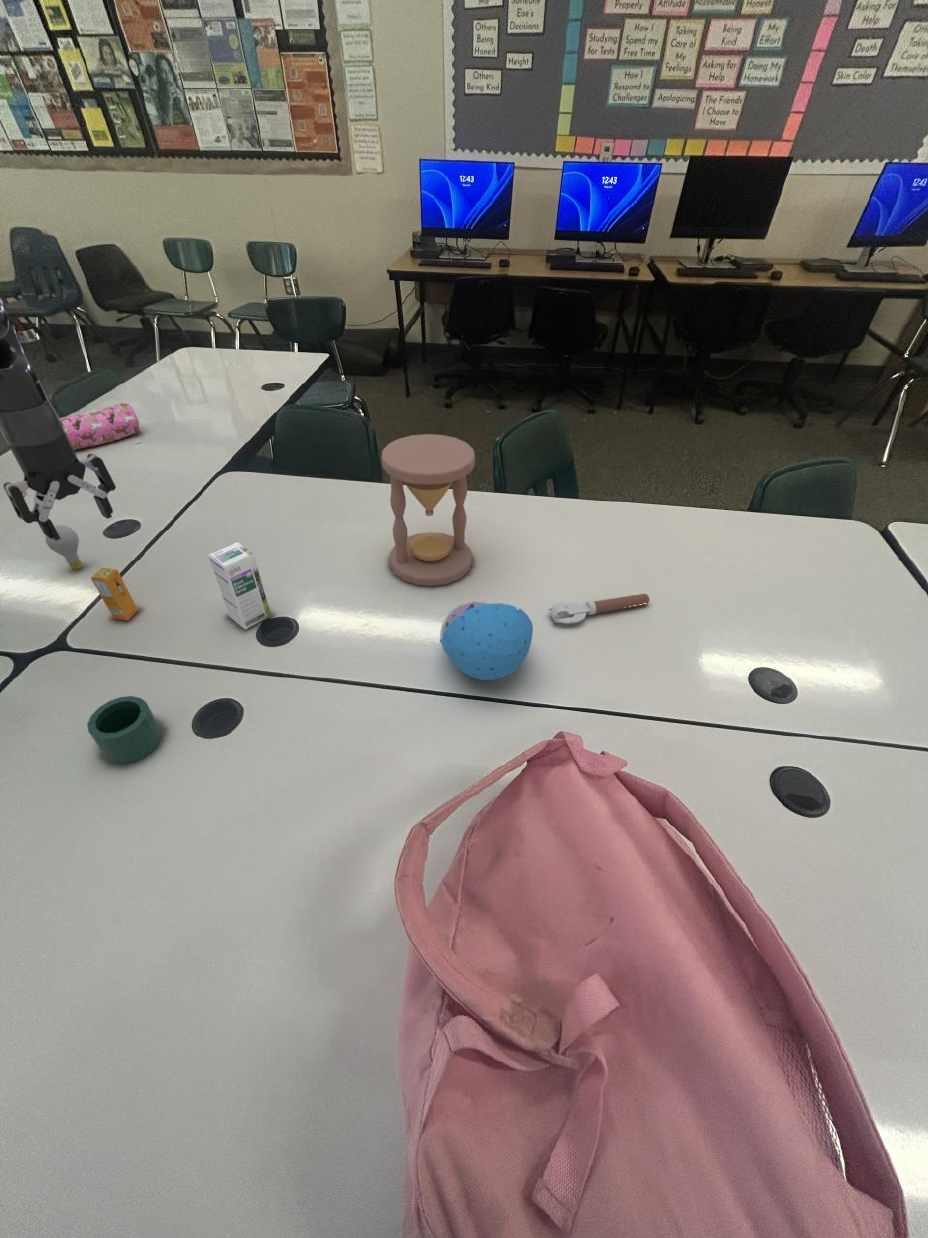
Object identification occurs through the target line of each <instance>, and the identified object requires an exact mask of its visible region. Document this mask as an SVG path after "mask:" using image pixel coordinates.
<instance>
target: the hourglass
mask: <svg viewBox="0 0 928 1238" xmlns="http://www.w3.org/2000/svg"><path fill="white" fill-rule="evenodd" d="M475 465H476V456H475V450H474V448H473V447H471V445H469V443H467V442H466V441H464V440H462V439H459V438H457V437H453V436H448V435H444V434H431V433H425V434H412V435H409V436H404V437H401V438H397V439H395V440H393V441H392V442H389V443H388V444H387V445H386V446H385V447H384V448H383V449H382V451H381V467H382V468H383V470H384V471H385V472H386V474H387V475H389V477H390V499H389V501H390V502H389V503H390V507H391V510H392V513H393V516H394V521H393V526H392V537H393V541H394V546H393V547H392V549H391V550H390V555H389V566H390V568H391V569H392V572H393V573H394V575H395V576H397V577H398V578H400V579H401V580H402V581H404V582H406V583H409V584H412V585H416V586H423V587H437V586H445V585H449V584H451V583H454V582H456V581H459V580H460V579H462V578H463V577H464V576H465V575H466V574H468V573H469V570H470V569H471V566H472V565H473V564H472V563H473V556H472V550H471V548H470V547H469V546H468V544H467V543H466V542H465V538H466V537H465V536H466V535H465V534H466V533H465V532H466V526H467V518H468V517H467V513H466V509H465V506H464V505H465V502H466V498H467V495H468V484H467V483H468V482H467V475H469V474H470V473H472V471H473V469H474V468H475ZM404 483H405V486H406V488H407V489H408V490H409V492H410V493H411V494H412V495H413V496H414V497H415V499H416V500H417V501H418V503H419V504H420V505H421V506H422V507H423V508H424V509H425V511H424V513H425V516H427V517H431V516H433V515H434V509H435V507H437V505H439V503H440V501H441V500H442V499H443V497H444V496H445V495H446V493H448V491H449V489H450V488H451V486H452V497H453V500H454V503H455V506H454V510H453V513H452V516H451V517H452V522H451V523H452V527H453V535H451V534H449V533H444V532H432V531H429V532H421V533H420V532H419V533H414V534H413V535H409V536H408V534H409V533H408V528H407V524H406V521H405V518H404V516H405V515H404V514H405V511H406V507H407V500H406V499H407V498H406V494H405V490H404Z"/></svg>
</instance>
